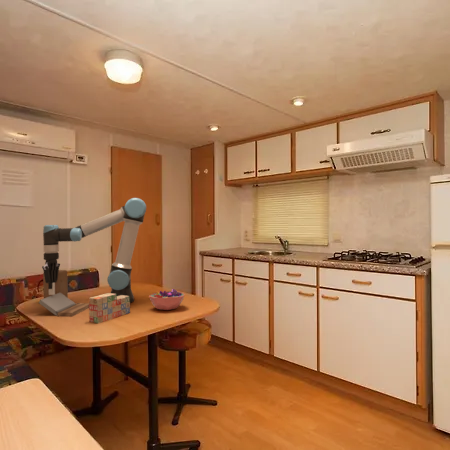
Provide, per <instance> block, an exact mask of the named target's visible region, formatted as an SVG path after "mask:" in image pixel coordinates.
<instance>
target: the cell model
mask: <svg viewBox="0 0 450 450" xmlns="http://www.w3.org/2000/svg"><path fill="white" fill-rule="evenodd" d="M185 295H186V294H185V293H184V292H182V291H178V290H177V289H174V288H172V289H171V290H169V291H168V290H167V291H166V290H163V291H162V290H159V292H154V293H153V292H152V293H151V294H150V295H148V297H149V300H150V302H151V304H152V306H153V307H155V308H156V309H157V310H161V311H163V310H164V311H170V310H176V309H177V308H179V307H180V306H181V304H182V302H183V300H184V299H185V298H184V297H185Z"/></svg>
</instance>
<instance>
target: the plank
mask: <svg viewBox="0 0 450 450" xmlns="http://www.w3.org/2000/svg"><path fill="white" fill-rule="evenodd" d="M38 304H39V305H41V306H42V307H43V308H45V309H46V310H48V312H50V313H52V314H53V315H54V316H57V317H58V312H60V311H62V310H64V309H66V308H69V307H71V306H73V305H75V304H77V303H76V302H74V301H73V300H72V299H70V298H69V297H68V298H67V297H66V296H65V295H63V294H62V293H58V294H55V295H52V296H49V297H47V298H44V297H43V298H42V299H40V300H39V302H38Z"/></svg>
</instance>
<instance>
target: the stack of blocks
mask: <svg viewBox="0 0 450 450" xmlns="http://www.w3.org/2000/svg"><path fill="white" fill-rule="evenodd" d="M88 303H89V308H88V310H89V313H88V314H89V316H88V318H89V322H90V323H94V324H100V323H104V322H107V321H110V320H113V319H115V318H119V317H121V316H125V315H128V314H130V313H131V309H130V308H131V302H130V298H129V296H124V295H120V296H117V294H113V293H111V292H107V293H104V294H99V295H95V296H91V297H89V298H88Z"/></svg>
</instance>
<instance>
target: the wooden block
mask: <svg viewBox="0 0 450 450" xmlns="http://www.w3.org/2000/svg"><path fill="white" fill-rule="evenodd" d="M42 278H43V280H42V282H43V285H42V286H43V299H44V298H47V297H49V296H52V295H49V288H48V287H49V286H48V283H46V282H45V276H44V272H43V274H42ZM68 288H69V286H68V270H66V269H59V272H58V280H57V282H55V294H58V293H62V294H63V295H65V296H66V297H67V298H69V294H68V293H69V292H68V291H69V290H68ZM55 294H54V295H55Z"/></svg>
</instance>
